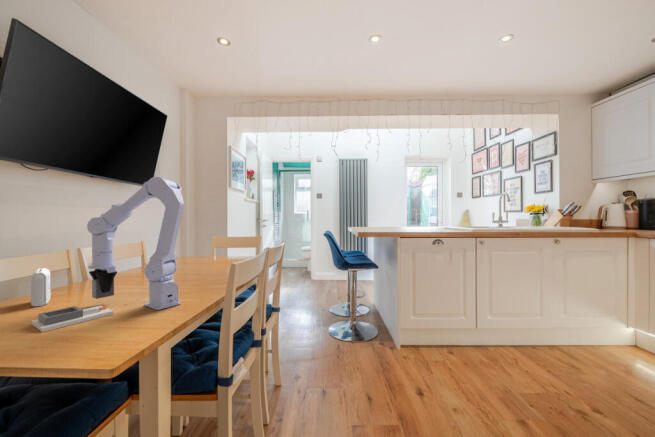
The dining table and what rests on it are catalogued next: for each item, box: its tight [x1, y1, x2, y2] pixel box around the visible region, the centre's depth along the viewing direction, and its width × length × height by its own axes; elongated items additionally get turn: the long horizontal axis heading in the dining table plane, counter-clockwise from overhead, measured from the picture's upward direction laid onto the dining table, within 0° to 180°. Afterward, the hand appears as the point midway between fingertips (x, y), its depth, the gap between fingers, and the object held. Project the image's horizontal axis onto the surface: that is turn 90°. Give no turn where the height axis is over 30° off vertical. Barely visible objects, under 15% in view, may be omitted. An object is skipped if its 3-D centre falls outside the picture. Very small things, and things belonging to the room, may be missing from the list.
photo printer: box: [30, 267, 52, 308], centre depth 98 cm, size 10×4×12 cm, turn 39°
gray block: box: [91, 278, 115, 300], centre depth 96 cm, size 4×5×6 cm
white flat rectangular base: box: [31, 305, 114, 333], centre depth 83 cm, size 10×16×3 cm, turn 148°
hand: (103, 291), depth 96 cm, fingers closed on gray block, 4 cm apart
